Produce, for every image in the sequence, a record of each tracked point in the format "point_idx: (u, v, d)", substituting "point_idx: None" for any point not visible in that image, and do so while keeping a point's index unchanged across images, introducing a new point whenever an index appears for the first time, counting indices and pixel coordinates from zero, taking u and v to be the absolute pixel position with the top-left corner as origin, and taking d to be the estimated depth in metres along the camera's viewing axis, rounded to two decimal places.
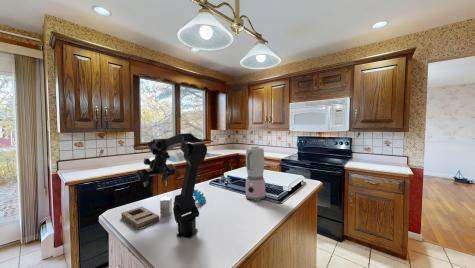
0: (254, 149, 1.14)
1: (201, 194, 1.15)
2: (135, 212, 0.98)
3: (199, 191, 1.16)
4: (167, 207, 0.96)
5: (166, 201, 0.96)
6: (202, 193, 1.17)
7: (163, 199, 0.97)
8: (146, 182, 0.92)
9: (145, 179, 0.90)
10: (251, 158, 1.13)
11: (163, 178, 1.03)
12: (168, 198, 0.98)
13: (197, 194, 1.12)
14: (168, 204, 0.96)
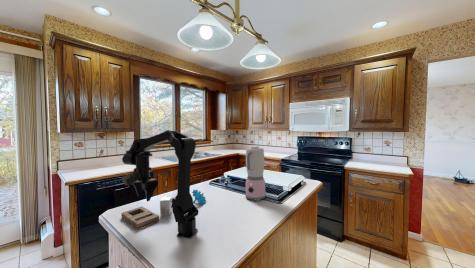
0: (254, 149, 1.14)
1: (201, 194, 1.15)
2: (135, 212, 0.98)
3: (199, 191, 1.16)
4: (167, 207, 0.96)
5: (166, 201, 0.96)
6: (202, 193, 1.17)
7: (163, 199, 0.97)
8: None
9: None
10: (251, 158, 1.13)
11: (139, 190, 0.93)
12: (168, 198, 0.98)
13: (197, 194, 1.12)
14: (168, 204, 0.96)
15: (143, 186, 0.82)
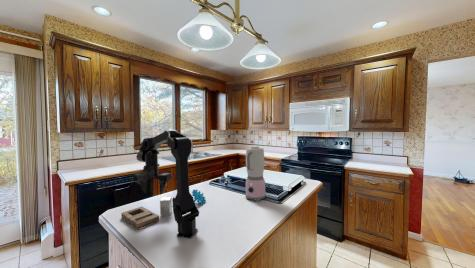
0: (254, 149, 1.14)
1: (201, 194, 1.15)
2: (135, 212, 0.98)
3: (199, 191, 1.16)
4: (167, 207, 0.96)
5: (166, 201, 0.96)
6: (202, 193, 1.17)
7: (163, 199, 0.97)
8: None
9: None
10: (251, 158, 1.13)
11: (144, 187, 0.97)
12: (168, 198, 0.98)
13: (197, 194, 1.12)
14: (168, 204, 0.96)
15: (161, 179, 0.92)
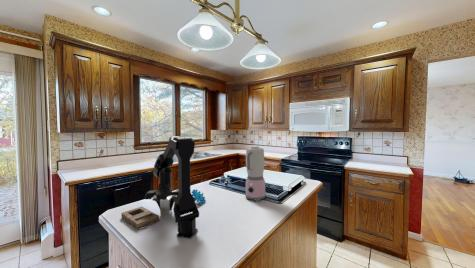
0: (254, 149, 1.14)
1: (201, 194, 1.15)
2: (135, 212, 0.98)
3: (199, 191, 1.17)
4: (167, 207, 0.96)
5: (166, 201, 0.96)
6: (202, 193, 1.18)
7: None
8: None
9: None
10: (251, 158, 1.13)
11: None
12: (168, 198, 0.98)
13: (196, 194, 1.12)
14: (168, 204, 0.96)
15: None
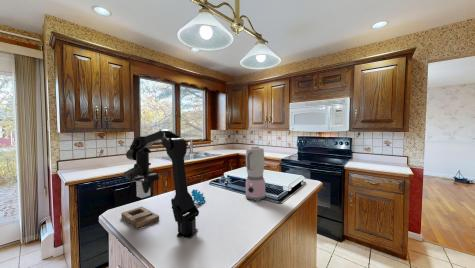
0: (254, 149, 1.14)
1: (200, 194, 1.15)
2: (135, 212, 0.98)
3: (199, 191, 1.17)
4: (140, 189, 0.93)
5: (140, 182, 0.94)
6: (202, 193, 1.18)
7: (140, 180, 0.96)
8: None
9: None
10: (251, 158, 1.13)
11: None
12: None
13: (196, 194, 1.12)
14: (141, 186, 0.93)
15: (145, 180, 0.89)
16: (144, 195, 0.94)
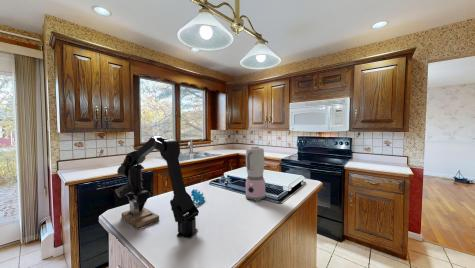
0: (254, 149, 1.14)
1: (200, 194, 1.16)
2: None
3: (199, 191, 1.17)
4: (132, 209, 0.93)
5: (132, 203, 0.93)
6: (202, 193, 1.18)
7: (133, 200, 0.95)
8: None
9: None
10: (251, 158, 1.13)
11: None
12: None
13: (196, 194, 1.12)
14: (133, 206, 0.92)
15: (135, 198, 0.88)
16: None
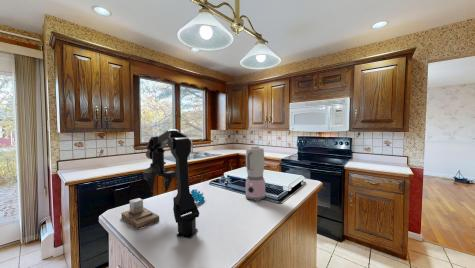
0: (254, 149, 1.14)
1: (200, 194, 1.16)
2: None
3: (198, 191, 1.17)
4: (132, 209, 0.93)
5: (132, 203, 0.93)
6: (202, 193, 1.18)
7: (133, 200, 0.95)
8: None
9: None
10: (251, 158, 1.13)
11: (152, 184, 1.02)
12: (137, 200, 0.94)
13: (195, 194, 1.12)
14: (133, 206, 0.92)
15: (166, 177, 0.95)
16: None
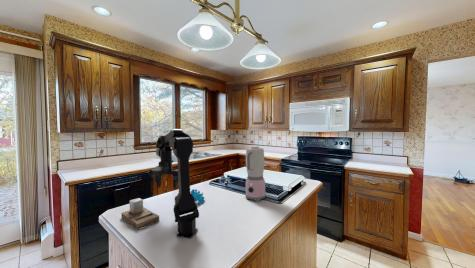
0: (254, 149, 1.14)
1: (200, 194, 1.16)
2: None
3: (198, 191, 1.17)
4: (132, 209, 0.93)
5: (132, 203, 0.93)
6: (201, 193, 1.18)
7: (133, 200, 0.95)
8: None
9: None
10: (251, 158, 1.13)
11: (159, 182, 1.04)
12: (137, 200, 0.94)
13: (195, 194, 1.12)
14: (133, 206, 0.92)
15: (175, 175, 0.97)
16: None
